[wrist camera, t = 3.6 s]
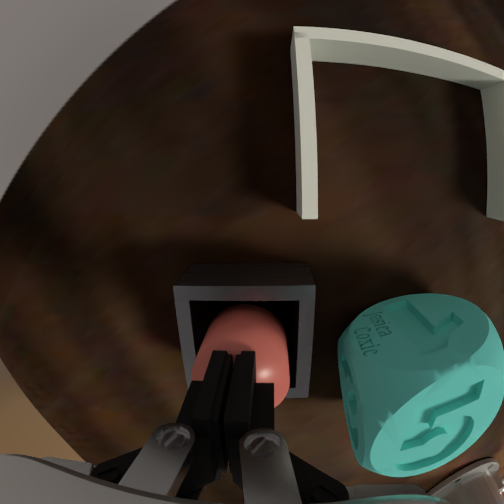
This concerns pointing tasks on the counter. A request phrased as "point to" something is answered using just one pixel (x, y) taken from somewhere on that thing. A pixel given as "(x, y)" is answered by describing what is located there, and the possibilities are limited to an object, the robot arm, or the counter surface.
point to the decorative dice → (419, 381)
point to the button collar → (248, 289)
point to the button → (249, 344)
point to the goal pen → (394, 57)
